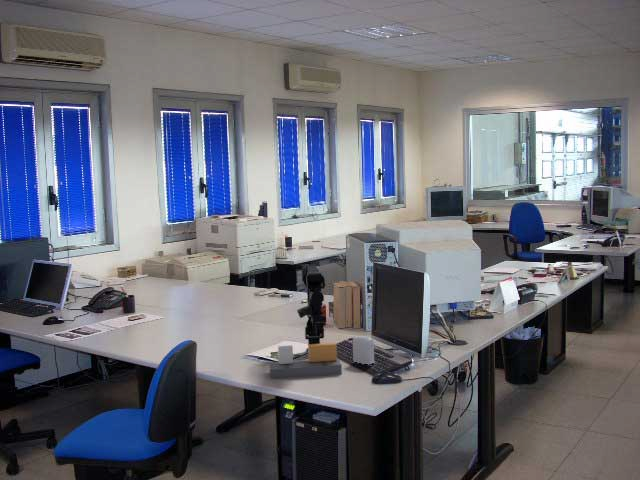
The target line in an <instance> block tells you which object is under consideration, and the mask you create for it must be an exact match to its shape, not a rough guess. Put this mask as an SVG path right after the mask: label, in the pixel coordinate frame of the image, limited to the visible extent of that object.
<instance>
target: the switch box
mask: <svg viewBox="0 0 640 480" xmlns="http://www.w3.org/2000/svg"><path fill="white" fill-rule="evenodd" d="M268 365H269V375H270V379H271V380H275V379H289V378H290V379H291V378H301V377H303V378H304V377H318V376H332V375H342V373H343V369H342V363H341V362H340V359H339V358H337V360H333V361H318V362H309V359H308V360H296V361H295V360H293V363H289V364H279V362H269V364H268Z"/></svg>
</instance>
